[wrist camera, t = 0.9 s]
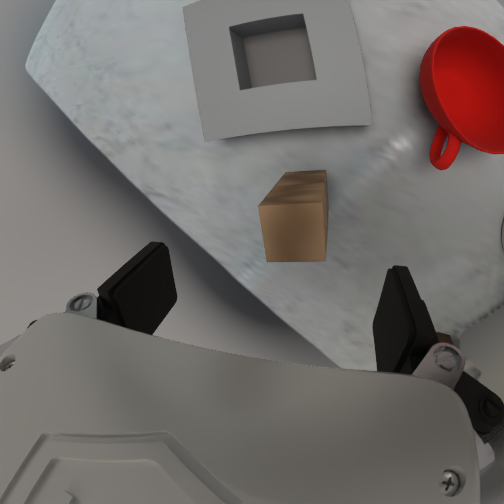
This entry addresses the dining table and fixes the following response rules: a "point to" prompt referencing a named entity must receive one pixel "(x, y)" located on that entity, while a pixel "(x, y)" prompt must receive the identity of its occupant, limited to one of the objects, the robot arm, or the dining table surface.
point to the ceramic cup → (464, 92)
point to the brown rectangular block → (296, 218)
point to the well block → (275, 66)
